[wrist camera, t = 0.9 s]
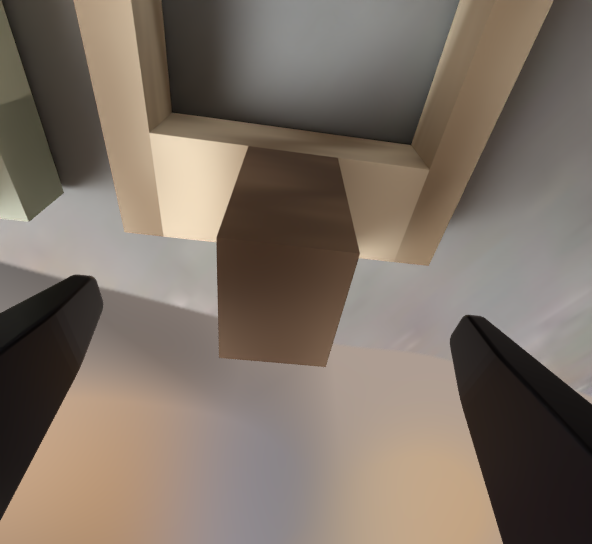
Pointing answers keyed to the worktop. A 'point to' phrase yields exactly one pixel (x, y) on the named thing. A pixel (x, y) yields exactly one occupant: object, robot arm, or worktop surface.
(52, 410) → the robot arm
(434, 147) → the ash sled frame
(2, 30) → the tray
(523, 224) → the worktop surface
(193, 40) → the worktop surface
